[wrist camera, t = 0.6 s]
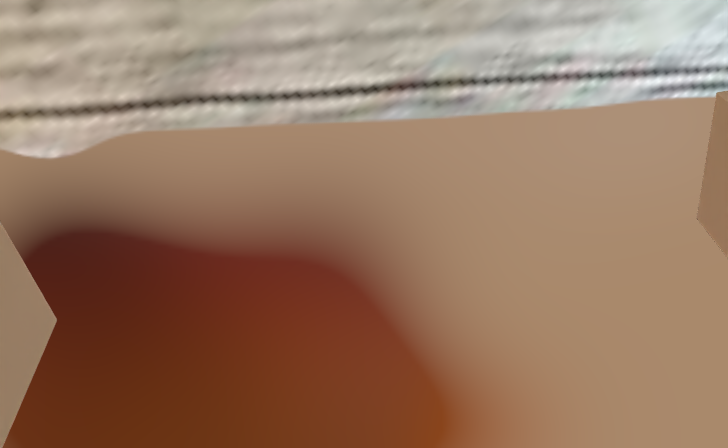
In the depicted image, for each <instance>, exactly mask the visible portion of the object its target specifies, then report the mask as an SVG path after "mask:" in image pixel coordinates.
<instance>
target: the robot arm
mask: <svg viewBox="0 0 728 448" xmlns="http://www.w3.org/2000/svg"><path fill="white" fill-rule="evenodd" d="M697 220H698V221H699V222H700V223H701V225H702V226H703V227H704V229H705V230H706V231H707V233H708V234H709V235H710V236H711V238H712V239H713V240H714V242H715V243H716V244H717V245H718V247H719V248H720V249H721V250H722V252H723V253H724V254H725V256H726V257H727V258H728V91H723V92H717V94H716V101H715V107H714V113H713V120H712V125H711V132H710V138H709V144H708V151H707V157H706V163H705V169H704V175H703V182H702V189H701V194H700V200H699V207H698V213H697ZM56 321H57V319H56V317H55V316H54V314H53V312H52V310H51V309H50V307H49V305H48V304H47V302H46V300H45V298H44V297H43V295H42V293H41V291H40V290H39V288H38V286H37V284H36V283H35V281H34V279H33V278H32V276H31V274H30V272H29V271H28V269H27V267H26V265H25V264H24V262H23V260H22V259H21V257H20V255H19V253H18V251H17V250H16V248H15V246H14V245H13V243H12V241H11V239H10V238H9V236H8V234H7V233H6V231H5V229H4V227H3V226H2V224H1V222H0V448H2V447H3V444H4V442H5V440H6V437H7V435H8V433H9V431H10V428H11V426H12V424H13V421H14V419H15V416H16V414H17V412H18V410H19V407H20V405H21V402H22V400H23V398H24V396H25V393H26V391H27V389H28V386H29V384H30V382H31V379H32V377H33V375H34V372H35V370H36V367H37V365H38V363H39V361H40V358H41V356H42V354H43V351H44V349H45V347H46V344H47V342H48V340H49V337H50V335H51V333H52V330H53V328H54V326H55V323H56Z"/></svg>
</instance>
